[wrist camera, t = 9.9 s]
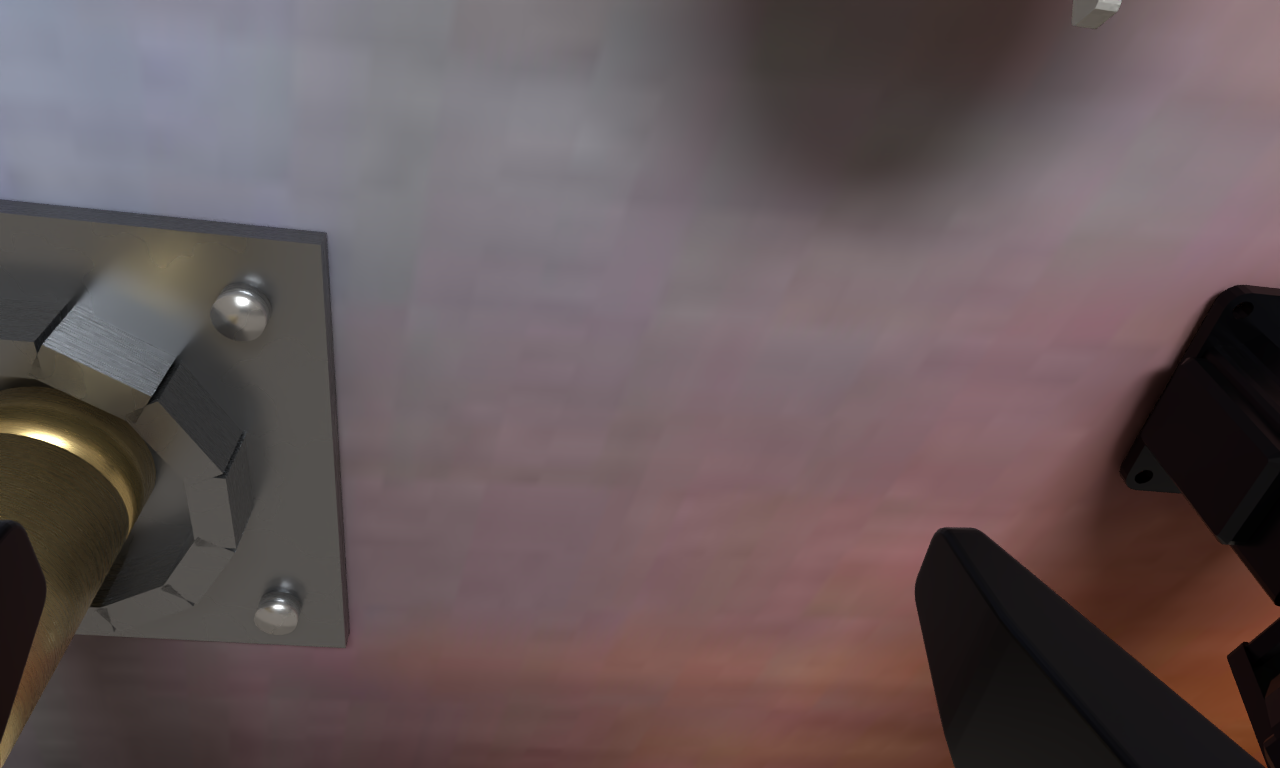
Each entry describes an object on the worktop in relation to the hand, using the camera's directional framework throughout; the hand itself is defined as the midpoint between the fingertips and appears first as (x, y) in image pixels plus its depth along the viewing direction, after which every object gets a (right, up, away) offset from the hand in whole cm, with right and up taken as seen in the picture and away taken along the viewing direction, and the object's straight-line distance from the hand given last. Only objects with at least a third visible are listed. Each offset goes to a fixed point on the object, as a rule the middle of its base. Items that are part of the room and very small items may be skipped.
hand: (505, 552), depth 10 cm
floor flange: (-14, 0, +15) cm, 21 cm away
